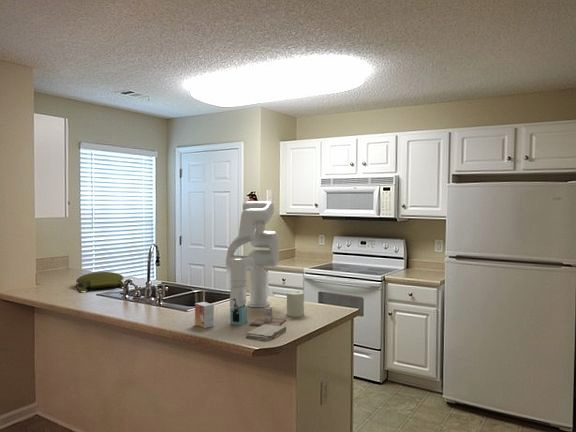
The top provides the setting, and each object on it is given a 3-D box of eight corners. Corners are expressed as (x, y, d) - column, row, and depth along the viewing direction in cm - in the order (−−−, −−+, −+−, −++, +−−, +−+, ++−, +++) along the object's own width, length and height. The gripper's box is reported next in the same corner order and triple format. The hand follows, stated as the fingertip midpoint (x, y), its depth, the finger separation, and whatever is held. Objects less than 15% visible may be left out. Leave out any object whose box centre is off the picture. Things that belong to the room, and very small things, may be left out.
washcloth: (244, 339, 198) (244, 332, 198) (264, 328, 215) (264, 321, 215) (268, 342, 193) (268, 335, 193) (286, 331, 210) (286, 324, 209)
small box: (194, 325, 219) (194, 303, 219) (204, 322, 223) (204, 301, 223) (204, 328, 214) (204, 306, 213) (214, 326, 217) (213, 304, 217)
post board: (259, 318, 230) (259, 303, 230) (285, 320, 226) (285, 305, 226) (249, 325, 218) (249, 310, 217) (277, 327, 214) (277, 312, 213)
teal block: (235, 320, 227) (235, 305, 226) (247, 321, 225) (247, 305, 224) (230, 323, 221) (230, 308, 220) (242, 324, 219) (242, 308, 219)
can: (307, 313, 240) (307, 291, 239) (298, 317, 232) (298, 294, 231) (292, 311, 244) (292, 289, 244) (283, 315, 236) (283, 292, 236)
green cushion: (129, 288, 310) (129, 274, 310) (79, 294, 294) (79, 278, 294) (119, 281, 340) (118, 268, 340) (73, 285, 324) (73, 271, 324)
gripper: (238, 279, 231) (238, 314, 232) (223, 286, 215) (224, 323, 216) (252, 280, 229) (252, 316, 230) (238, 287, 213) (238, 325, 213)
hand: (238, 319), depth 223 cm, fingers closed on teal block, 6 cm apart
